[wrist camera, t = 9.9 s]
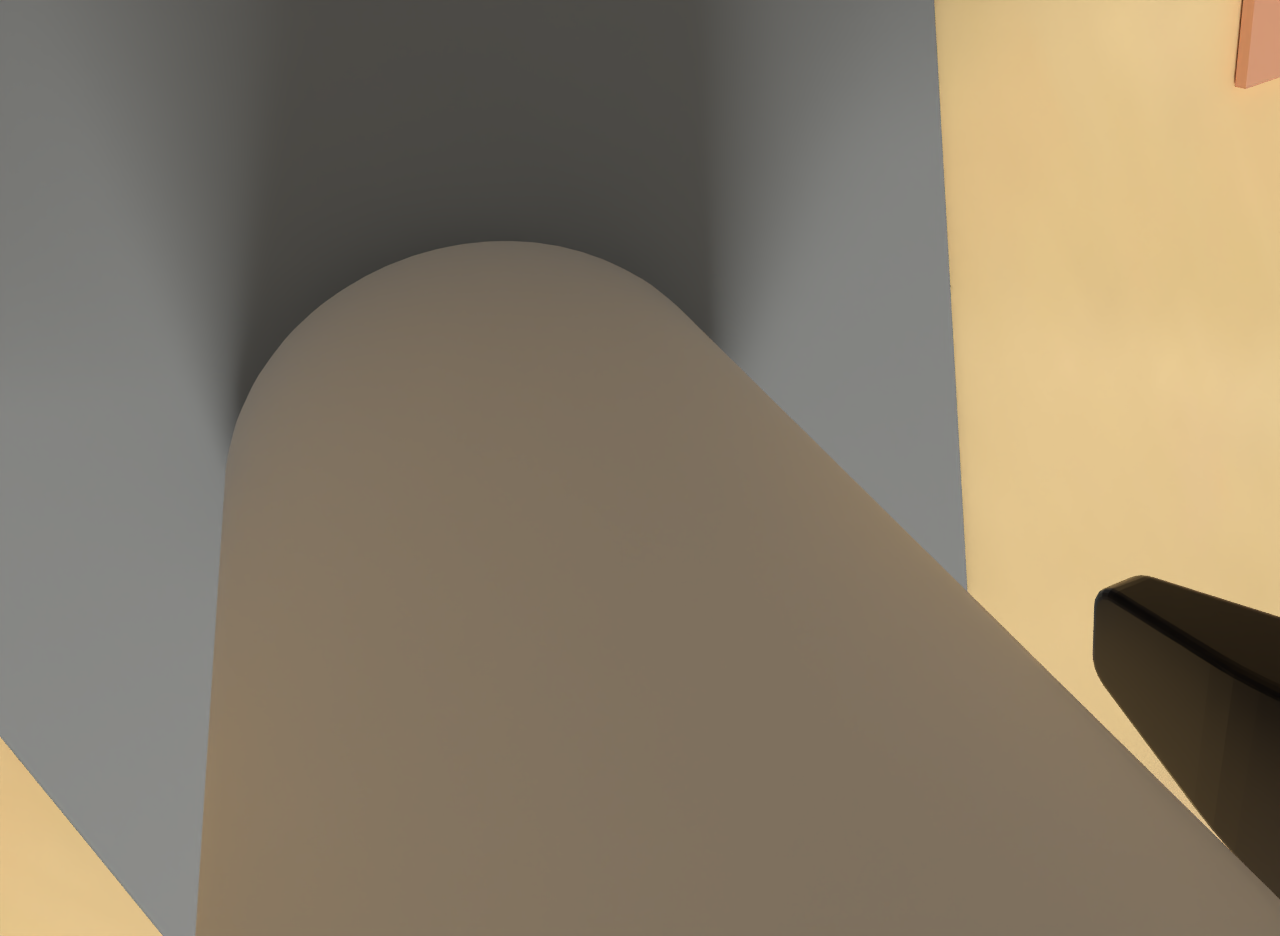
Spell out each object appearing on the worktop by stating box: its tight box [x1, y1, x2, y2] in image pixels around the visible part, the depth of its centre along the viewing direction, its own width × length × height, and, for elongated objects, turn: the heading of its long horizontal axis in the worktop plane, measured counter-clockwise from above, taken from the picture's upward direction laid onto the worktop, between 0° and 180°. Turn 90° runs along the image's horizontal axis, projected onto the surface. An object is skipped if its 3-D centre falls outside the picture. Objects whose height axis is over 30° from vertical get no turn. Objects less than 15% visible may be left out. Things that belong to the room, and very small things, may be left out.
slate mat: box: [0, 0, 967, 936], centre depth 14 cm, size 14×14×1 cm
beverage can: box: [195, 241, 1280, 936], centre depth 8 cm, size 6×6×12 cm
